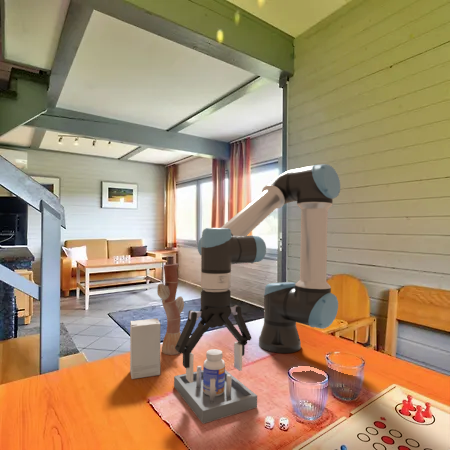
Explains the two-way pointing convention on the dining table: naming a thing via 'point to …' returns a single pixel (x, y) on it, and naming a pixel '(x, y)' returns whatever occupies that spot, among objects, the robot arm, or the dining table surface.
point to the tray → (215, 405)
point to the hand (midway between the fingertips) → (214, 374)
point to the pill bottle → (214, 372)
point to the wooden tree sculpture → (171, 308)
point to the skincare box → (145, 348)
